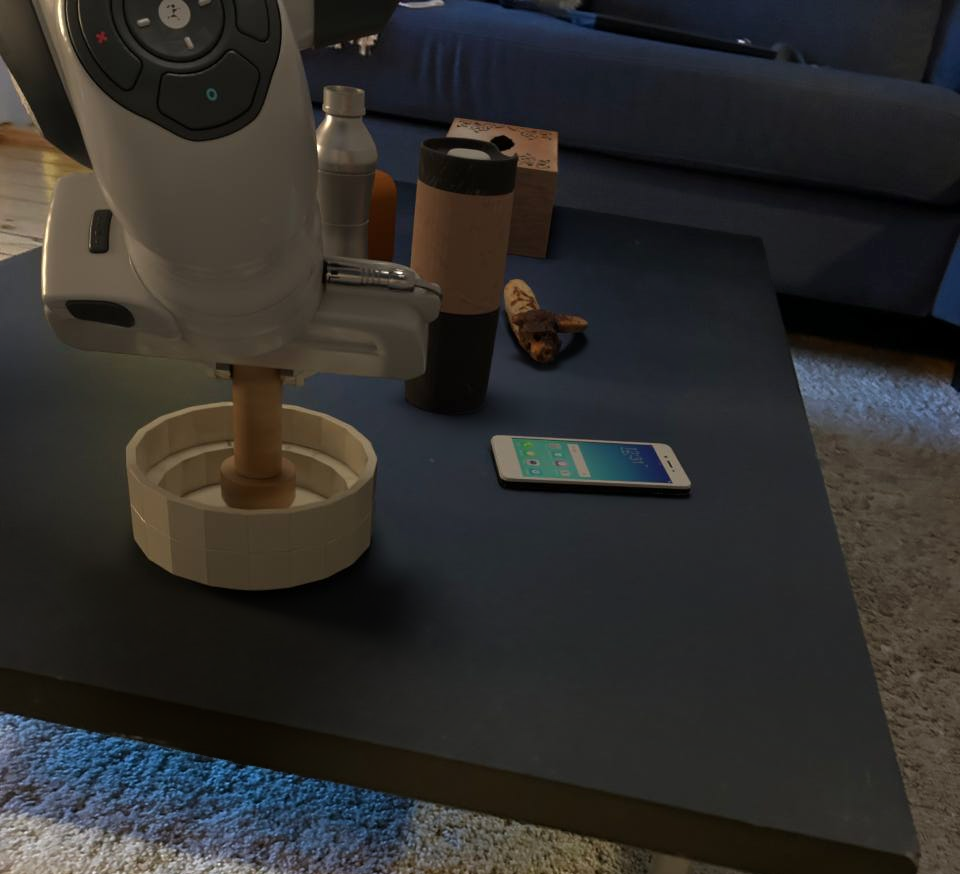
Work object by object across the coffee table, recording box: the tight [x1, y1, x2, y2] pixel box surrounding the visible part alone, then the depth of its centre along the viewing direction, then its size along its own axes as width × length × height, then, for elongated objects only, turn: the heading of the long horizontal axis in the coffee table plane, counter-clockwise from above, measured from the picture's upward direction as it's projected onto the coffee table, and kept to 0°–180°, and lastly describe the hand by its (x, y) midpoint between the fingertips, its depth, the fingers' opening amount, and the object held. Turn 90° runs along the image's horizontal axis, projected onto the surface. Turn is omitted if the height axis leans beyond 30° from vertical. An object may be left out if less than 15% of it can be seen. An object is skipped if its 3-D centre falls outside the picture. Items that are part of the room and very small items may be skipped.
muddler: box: [220, 364, 296, 510], centre depth 62 cm, size 5×5×15 cm
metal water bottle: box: [315, 85, 379, 260], centre depth 96 cm, size 6×7×20 cm
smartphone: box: [489, 434, 692, 495], centre depth 79 cm, size 8×1×15 cm
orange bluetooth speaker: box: [368, 168, 398, 263], centre depth 114 cm, size 24×8×11 cm, turn 42°
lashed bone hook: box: [503, 278, 589, 364], centre depth 101 cm, size 9×5×18 cm
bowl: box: [125, 401, 378, 591], centre depth 65 cm, size 15×15×6 cm
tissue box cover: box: [445, 117, 559, 260], centre depth 132 cm, size 26×14×10 cm, turn 176°
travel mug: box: [404, 136, 518, 415], centre depth 82 cm, size 8×8×20 cm
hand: (257, 371), depth 62 cm, fingers closed on muddler, 3 cm apart
